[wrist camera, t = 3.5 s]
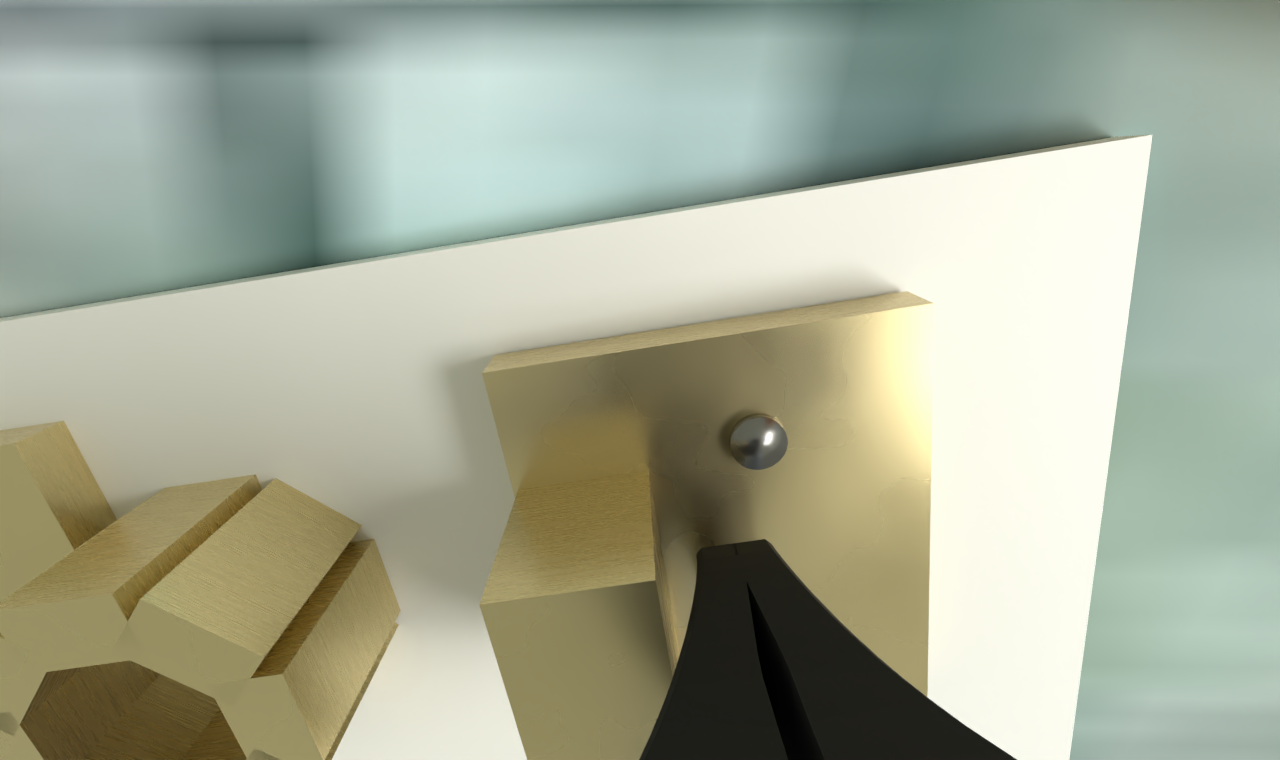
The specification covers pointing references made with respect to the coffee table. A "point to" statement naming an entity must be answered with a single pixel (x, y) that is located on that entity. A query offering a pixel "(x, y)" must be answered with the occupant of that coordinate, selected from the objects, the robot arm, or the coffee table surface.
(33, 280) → the coffee table surface
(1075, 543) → the board
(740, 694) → the robot arm
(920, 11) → the coffee table surface
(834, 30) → the coffee table surface
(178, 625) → the fixed leaf
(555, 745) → the loose leaf
